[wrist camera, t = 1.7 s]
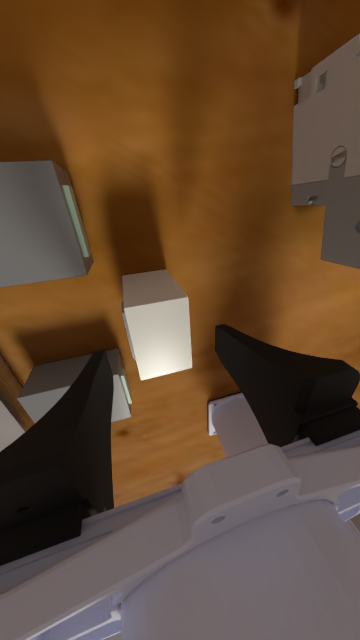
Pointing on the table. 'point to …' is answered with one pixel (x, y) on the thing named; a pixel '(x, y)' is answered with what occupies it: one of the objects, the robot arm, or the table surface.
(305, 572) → the robot arm
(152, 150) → the table surface
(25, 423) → the din rail
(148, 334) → the block
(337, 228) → the circuit breaker
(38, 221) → the mounted modules
